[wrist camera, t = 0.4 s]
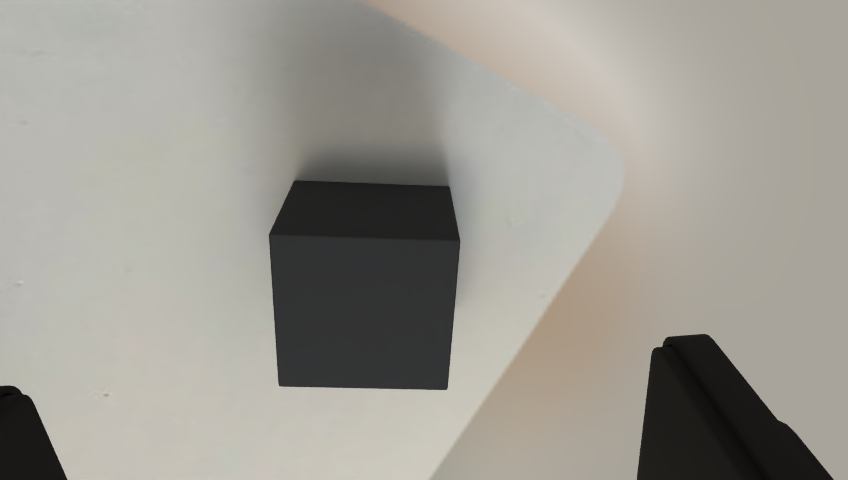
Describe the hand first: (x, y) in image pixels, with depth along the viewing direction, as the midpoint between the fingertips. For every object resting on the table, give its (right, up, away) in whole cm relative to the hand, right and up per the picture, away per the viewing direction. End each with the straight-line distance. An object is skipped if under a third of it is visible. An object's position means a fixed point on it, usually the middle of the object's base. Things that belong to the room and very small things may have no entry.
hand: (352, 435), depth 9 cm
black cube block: (-1, +2, +16) cm, 16 cm away
